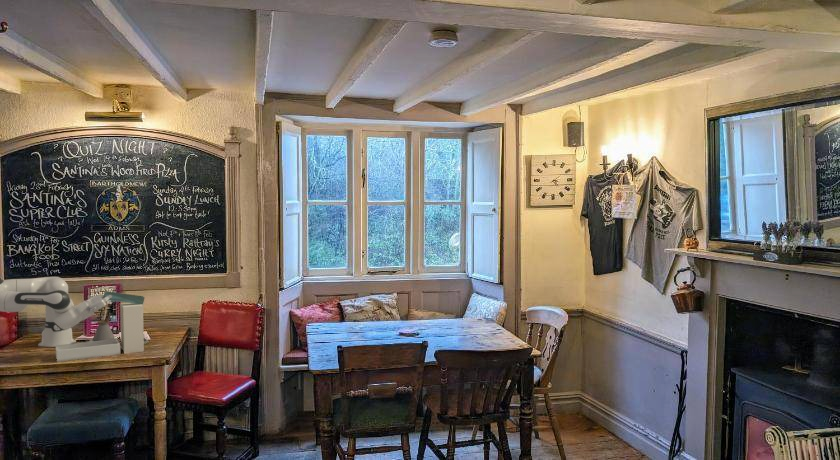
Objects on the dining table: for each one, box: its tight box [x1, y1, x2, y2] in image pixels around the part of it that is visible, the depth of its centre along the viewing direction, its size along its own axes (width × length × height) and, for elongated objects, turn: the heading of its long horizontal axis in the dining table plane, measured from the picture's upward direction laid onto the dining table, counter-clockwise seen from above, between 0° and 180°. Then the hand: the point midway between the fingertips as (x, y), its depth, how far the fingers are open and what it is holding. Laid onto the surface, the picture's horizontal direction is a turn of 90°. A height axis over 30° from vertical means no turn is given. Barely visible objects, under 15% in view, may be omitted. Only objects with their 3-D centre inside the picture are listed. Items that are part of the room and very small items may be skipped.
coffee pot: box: [92, 312, 116, 341], centre depth 365 cm, size 21×12×15 cm, turn 12°
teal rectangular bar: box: [103, 291, 145, 305], centre depth 342 cm, size 4×20×4 cm, turn 123°
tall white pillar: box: [119, 302, 145, 354], centre depth 345 cm, size 12×10×26 cm
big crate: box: [55, 338, 121, 363], centre depth 333 cm, size 13×30×6 cm, turn 123°
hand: (110, 294), depth 338 cm, fingers closed on teal rectangular bar, 4 cm apart
